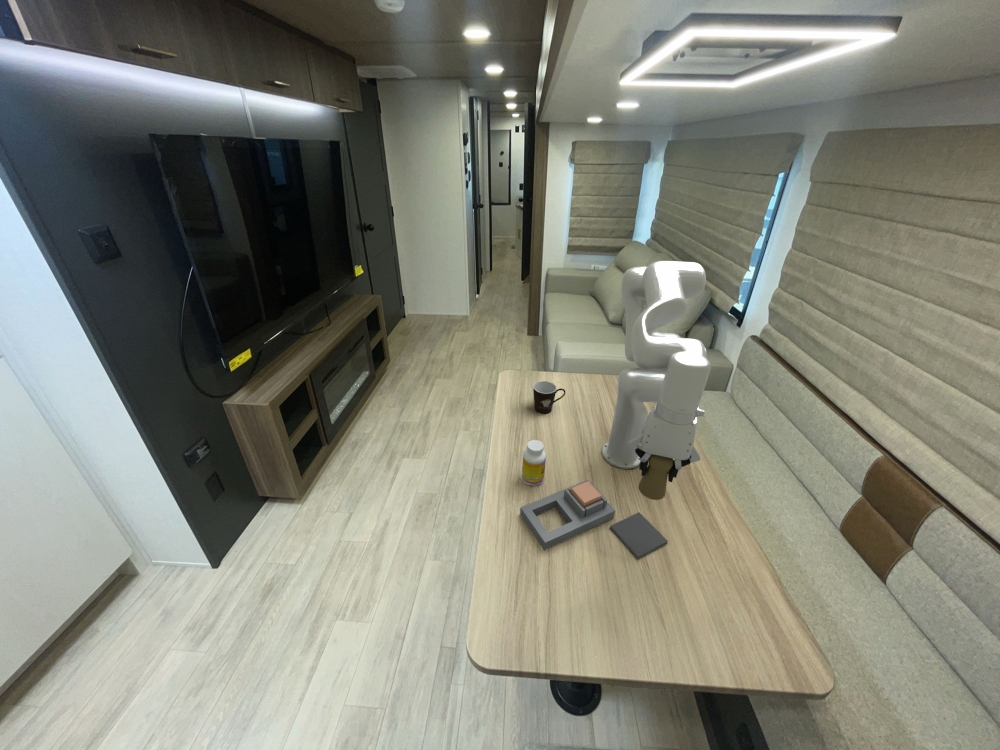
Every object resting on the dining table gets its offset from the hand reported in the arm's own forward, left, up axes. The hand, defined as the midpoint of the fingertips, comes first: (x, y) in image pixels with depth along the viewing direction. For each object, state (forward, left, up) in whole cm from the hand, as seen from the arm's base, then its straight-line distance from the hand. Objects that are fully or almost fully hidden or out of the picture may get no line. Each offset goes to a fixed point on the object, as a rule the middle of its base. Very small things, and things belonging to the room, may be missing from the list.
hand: (656, 474), depth 90 cm
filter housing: (+13, -13, -21) cm, 28 cm away
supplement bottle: (+14, -29, -22) cm, 39 cm away
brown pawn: (0, 0, -5) cm, 5 cm away
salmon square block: (+8, -13, -18) cm, 23 cm away
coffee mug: (-9, -56, -22) cm, 61 cm away
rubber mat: (0, 0, -21) cm, 21 cm away
